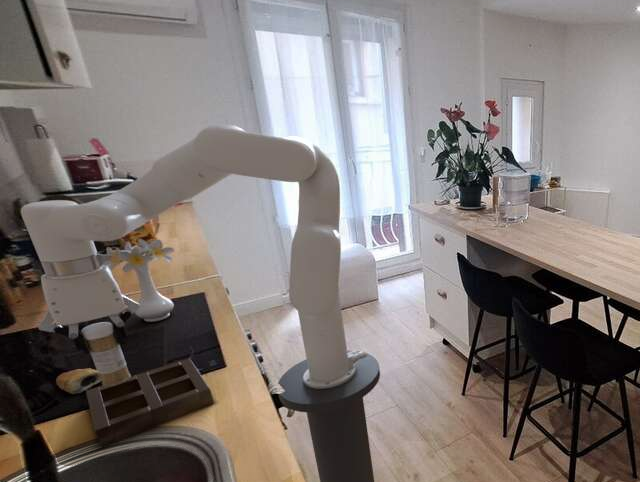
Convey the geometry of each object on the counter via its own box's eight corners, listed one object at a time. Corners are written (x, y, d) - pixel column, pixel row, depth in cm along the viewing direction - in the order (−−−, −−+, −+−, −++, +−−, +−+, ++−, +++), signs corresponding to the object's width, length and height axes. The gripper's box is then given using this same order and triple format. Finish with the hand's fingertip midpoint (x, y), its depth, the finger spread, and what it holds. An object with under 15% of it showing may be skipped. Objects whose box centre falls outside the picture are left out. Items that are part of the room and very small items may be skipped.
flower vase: (115, 318, 127) (87, 242, 118) (191, 304, 138) (170, 233, 130) (111, 335, 118) (80, 253, 109) (192, 318, 129) (170, 242, 120)
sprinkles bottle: (117, 374, 91) (97, 320, 86) (137, 375, 90) (118, 321, 86) (96, 387, 86) (73, 331, 82) (116, 388, 86) (95, 332, 82)
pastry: (47, 388, 95) (41, 374, 94) (84, 372, 101) (78, 359, 100) (75, 396, 93) (69, 382, 91) (111, 379, 99) (106, 366, 98)
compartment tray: (193, 371, 103) (189, 357, 102) (214, 403, 92) (209, 388, 91) (92, 405, 90) (85, 390, 89) (101, 447, 79) (94, 430, 78)
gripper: (129, 251, 87) (154, 327, 94) (4, 271, 75) (42, 356, 82) (135, 260, 83) (160, 338, 89) (3, 281, 71) (43, 371, 77)
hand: (103, 346), depth 85 cm, fingers closed on sprinkles bottle, 4 cm apart
